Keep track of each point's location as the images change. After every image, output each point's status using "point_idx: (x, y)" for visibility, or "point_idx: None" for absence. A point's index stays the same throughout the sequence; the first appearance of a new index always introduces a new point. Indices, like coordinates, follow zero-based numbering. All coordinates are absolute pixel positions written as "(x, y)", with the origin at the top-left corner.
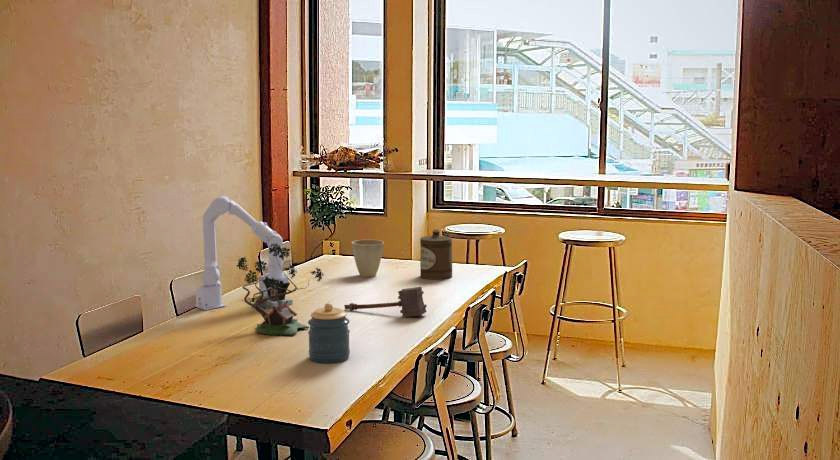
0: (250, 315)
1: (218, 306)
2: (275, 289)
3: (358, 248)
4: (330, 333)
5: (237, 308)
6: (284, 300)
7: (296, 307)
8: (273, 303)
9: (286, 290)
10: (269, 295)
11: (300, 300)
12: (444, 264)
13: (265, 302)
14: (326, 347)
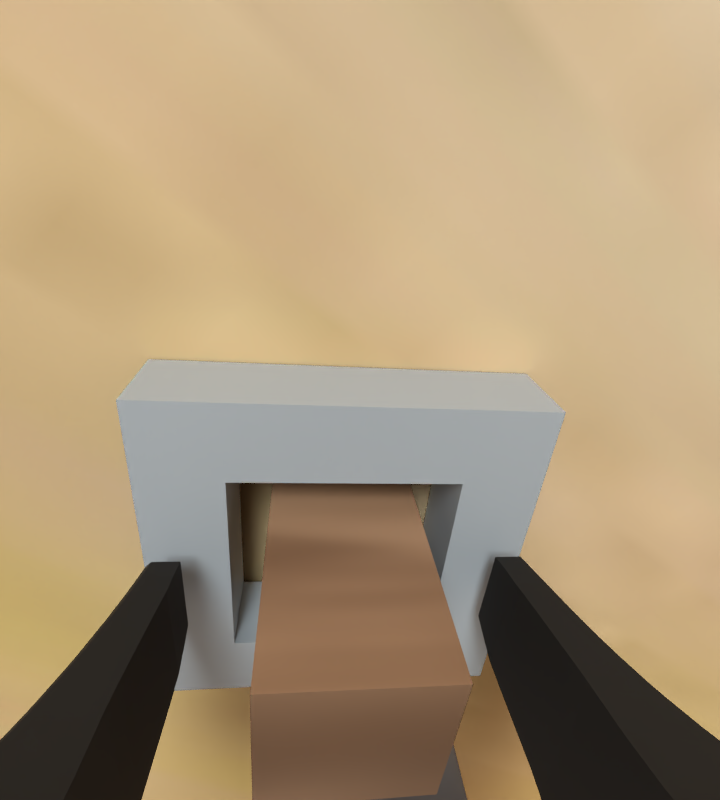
0: (486, 796)
1: None
2: (301, 751)
3: None
4: None
5: (192, 793)
6: (490, 525)
7: (679, 431)
8: (478, 670)
9: (669, 706)
10: (180, 650)
11: (404, 19)
12: None
13: (458, 768)
14: None
